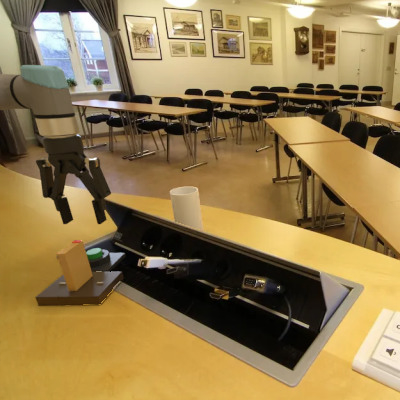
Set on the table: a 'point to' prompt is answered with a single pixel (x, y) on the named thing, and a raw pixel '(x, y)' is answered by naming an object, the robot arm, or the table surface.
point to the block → (106, 261)
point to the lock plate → (80, 290)
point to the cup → (187, 206)
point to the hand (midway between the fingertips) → (85, 221)
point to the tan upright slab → (75, 265)
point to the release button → (94, 253)
